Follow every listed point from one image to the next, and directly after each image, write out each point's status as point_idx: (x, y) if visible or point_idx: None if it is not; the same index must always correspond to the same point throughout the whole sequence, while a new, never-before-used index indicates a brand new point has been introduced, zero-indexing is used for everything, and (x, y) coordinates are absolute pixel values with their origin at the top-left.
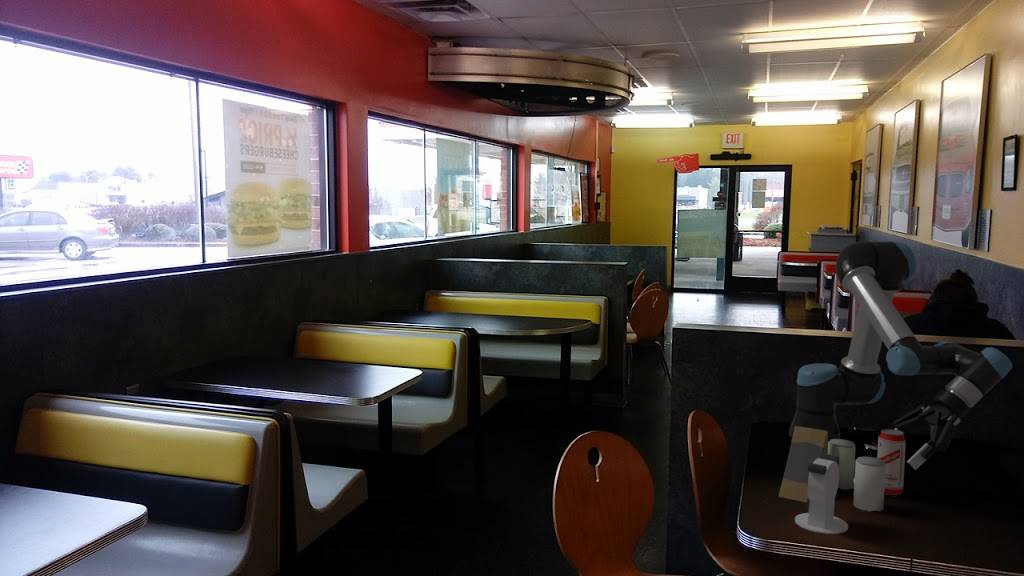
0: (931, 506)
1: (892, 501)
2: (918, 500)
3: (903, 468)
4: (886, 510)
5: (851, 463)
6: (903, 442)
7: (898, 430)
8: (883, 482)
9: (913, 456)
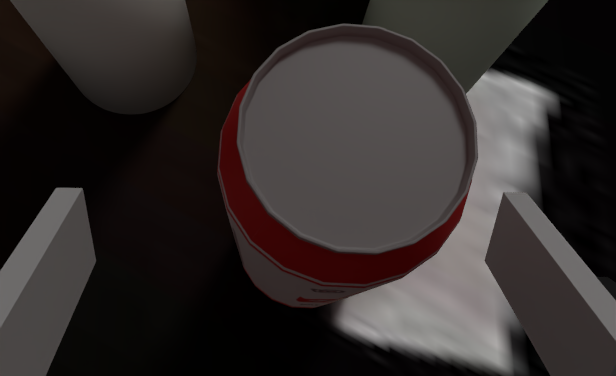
0: (103, 365)
1: (187, 199)
2: (192, 343)
3: (252, 272)
4: (78, 110)
5: (386, 18)
6: (233, 219)
7: (610, 364)
8: (20, 13)
9: (45, 224)
